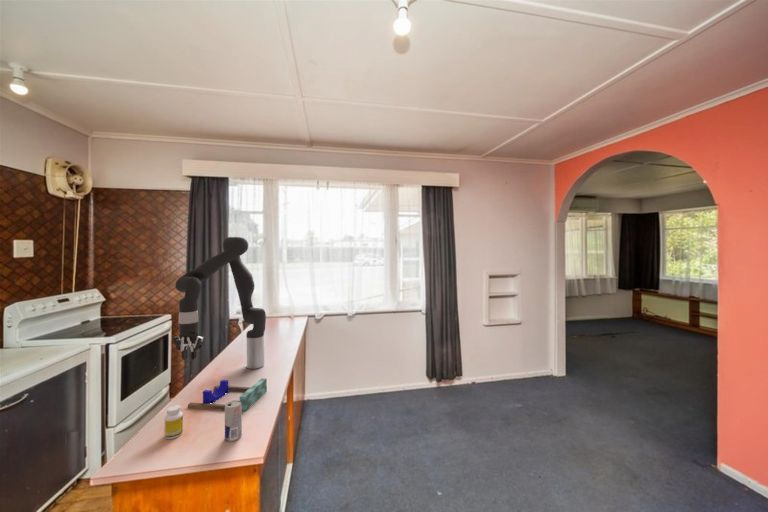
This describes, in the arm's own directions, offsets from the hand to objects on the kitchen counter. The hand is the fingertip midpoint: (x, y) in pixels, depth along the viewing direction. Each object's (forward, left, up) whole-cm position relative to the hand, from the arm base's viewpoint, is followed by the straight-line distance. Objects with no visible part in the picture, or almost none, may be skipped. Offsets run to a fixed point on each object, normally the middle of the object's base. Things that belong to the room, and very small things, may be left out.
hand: (189, 359), depth 138 cm
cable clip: (0, +12, -18) cm, 21 cm away
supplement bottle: (+27, +16, -17) cm, 36 cm away
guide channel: (0, +19, -17) cm, 25 cm away
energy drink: (+26, +38, -17) cm, 49 cm away
